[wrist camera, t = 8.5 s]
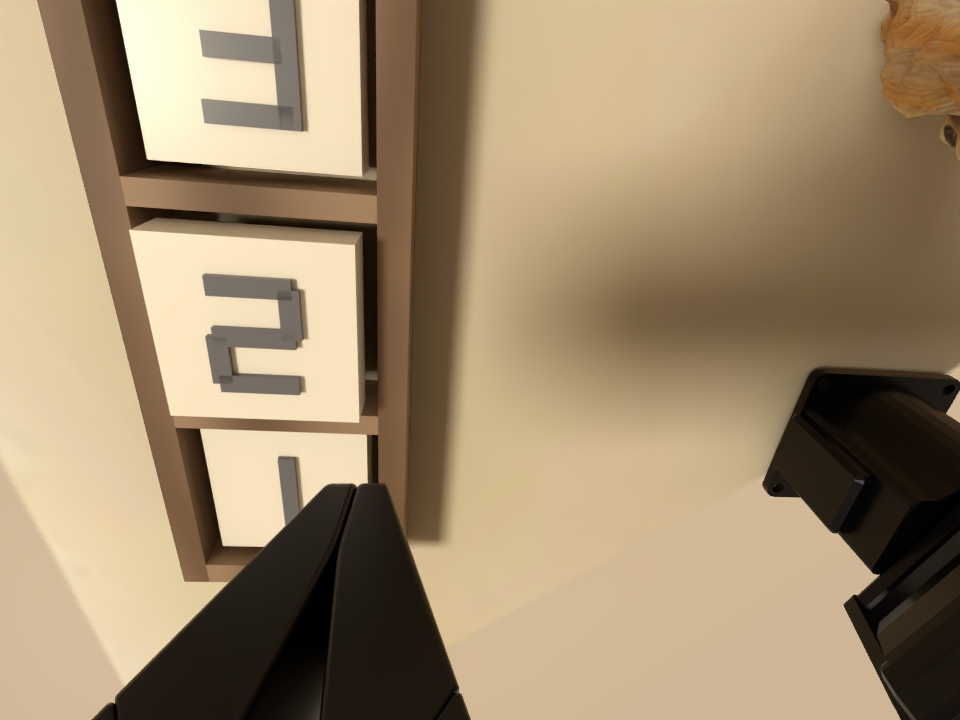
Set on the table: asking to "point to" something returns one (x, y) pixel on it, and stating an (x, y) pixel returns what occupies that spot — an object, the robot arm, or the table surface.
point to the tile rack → (159, 188)
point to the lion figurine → (924, 62)
